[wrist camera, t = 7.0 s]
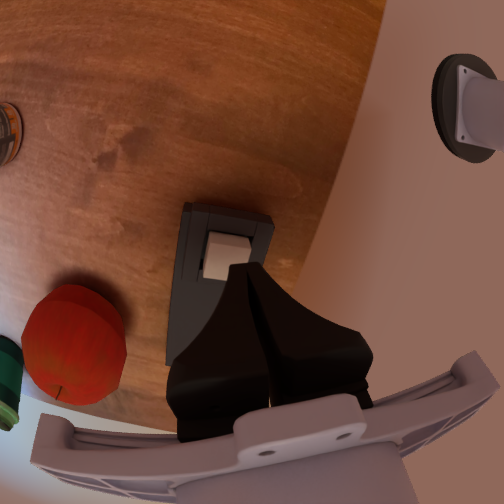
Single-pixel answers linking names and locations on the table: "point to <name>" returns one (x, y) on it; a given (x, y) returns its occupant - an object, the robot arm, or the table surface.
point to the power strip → (191, 267)
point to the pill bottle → (9, 133)
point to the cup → (10, 382)
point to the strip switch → (224, 254)
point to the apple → (75, 345)
